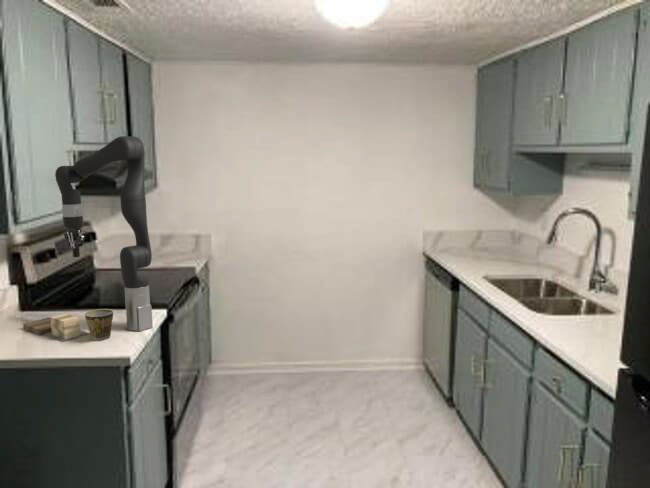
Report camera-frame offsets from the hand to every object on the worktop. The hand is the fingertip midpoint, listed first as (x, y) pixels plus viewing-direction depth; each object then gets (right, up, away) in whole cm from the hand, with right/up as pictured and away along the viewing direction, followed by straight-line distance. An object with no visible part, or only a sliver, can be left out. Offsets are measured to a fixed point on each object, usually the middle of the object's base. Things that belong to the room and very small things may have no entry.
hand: (76, 256), depth 227 cm
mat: (+3, -30, -14) cm, 33 cm away
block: (+3, -30, -15) cm, 34 cm away
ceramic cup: (+18, -31, -20) cm, 41 cm away
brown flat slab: (-9, -28, -6) cm, 30 cm away
